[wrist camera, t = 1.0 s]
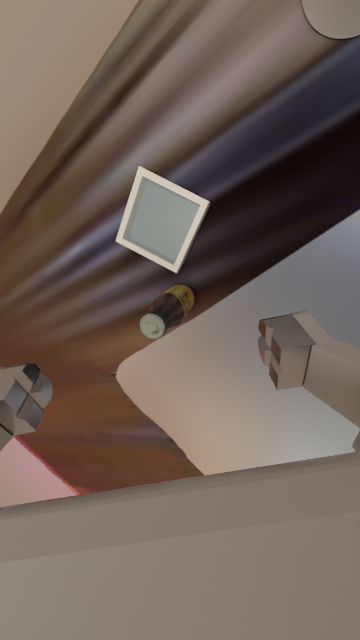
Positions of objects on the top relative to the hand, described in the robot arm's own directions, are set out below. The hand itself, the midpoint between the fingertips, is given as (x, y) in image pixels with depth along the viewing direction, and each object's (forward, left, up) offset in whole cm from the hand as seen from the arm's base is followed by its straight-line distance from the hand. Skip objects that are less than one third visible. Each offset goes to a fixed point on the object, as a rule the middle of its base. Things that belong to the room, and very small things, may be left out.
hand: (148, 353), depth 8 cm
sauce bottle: (+12, -4, -43) cm, 44 cm away
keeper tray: (0, -14, -42) cm, 45 cm away
